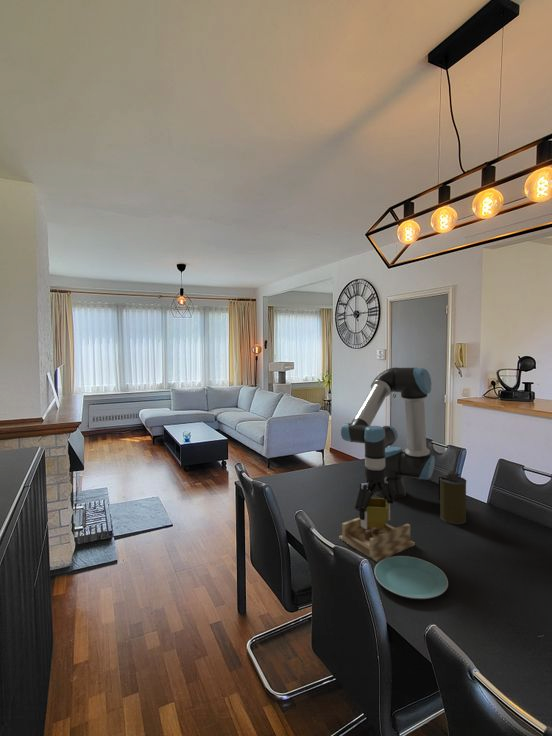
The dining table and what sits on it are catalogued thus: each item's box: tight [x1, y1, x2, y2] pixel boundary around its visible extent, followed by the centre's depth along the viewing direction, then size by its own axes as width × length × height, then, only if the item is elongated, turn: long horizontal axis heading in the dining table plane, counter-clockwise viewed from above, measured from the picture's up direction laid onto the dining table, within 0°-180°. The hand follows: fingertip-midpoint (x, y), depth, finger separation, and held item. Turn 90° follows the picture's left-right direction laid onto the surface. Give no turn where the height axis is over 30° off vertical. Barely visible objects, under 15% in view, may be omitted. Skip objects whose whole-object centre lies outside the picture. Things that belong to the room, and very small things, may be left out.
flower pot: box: [365, 497, 388, 528], centre depth 148 cm, size 9×9×9 cm
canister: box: [438, 471, 467, 525], centre depth 166 cm, size 11×10×20 cm
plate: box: [373, 555, 449, 600], centre depth 123 cm, size 22×22×3 cm
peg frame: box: [338, 516, 416, 563], centre depth 149 cm, size 20×20×7 cm
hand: (375, 523), depth 149 cm, fingers closed on flower pot, 12 cm apart
